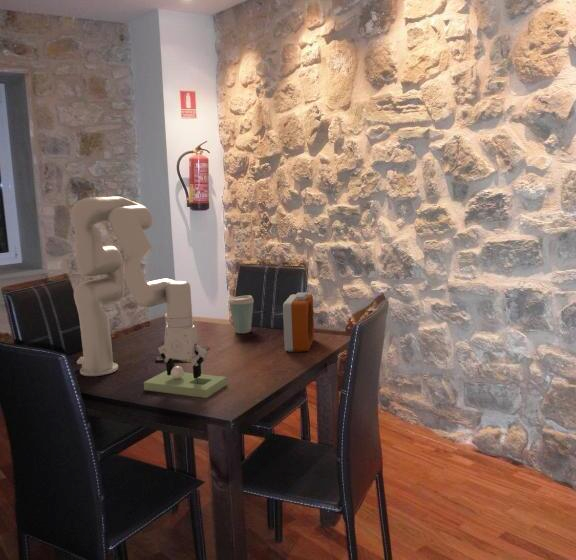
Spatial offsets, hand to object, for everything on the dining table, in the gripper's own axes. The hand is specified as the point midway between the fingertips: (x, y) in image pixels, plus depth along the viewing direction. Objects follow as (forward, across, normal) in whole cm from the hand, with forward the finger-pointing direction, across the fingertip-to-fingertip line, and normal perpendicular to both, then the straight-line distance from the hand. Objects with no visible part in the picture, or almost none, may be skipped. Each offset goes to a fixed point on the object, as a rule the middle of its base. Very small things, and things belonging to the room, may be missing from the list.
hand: (184, 375), depth 181 cm
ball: (-1, -2, 0) cm, 3 cm away
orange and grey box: (+4, +16, +53) cm, 56 cm away
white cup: (+4, -38, +51) cm, 64 cm away
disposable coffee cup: (+4, -16, +67) cm, 69 cm away
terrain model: (+5, -21, +31) cm, 37 cm away
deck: (+4, 0, 0) cm, 4 cm away
